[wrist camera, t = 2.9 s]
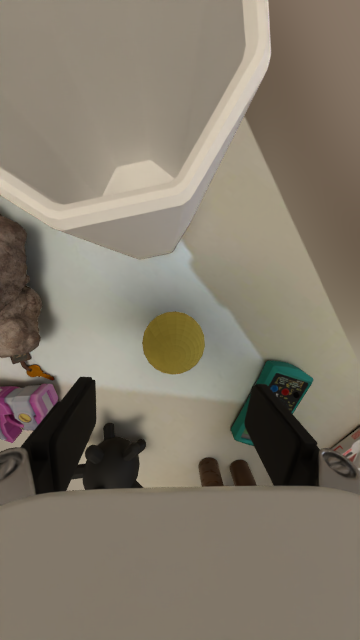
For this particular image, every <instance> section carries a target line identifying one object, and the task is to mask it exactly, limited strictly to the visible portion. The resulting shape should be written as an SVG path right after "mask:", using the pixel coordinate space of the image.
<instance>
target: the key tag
mask: <svg viewBox="0 0 360 640" xmlns="http://www.w3.org/2000/svg"><path fill="white" fill-rule="evenodd" d="M10 358H11V360H12V363H13V364H16V363H19V362H20V363H21V365H22V367H23V368H24V369H26V370H27V374H28V375H29V376H30V377H36V376H38V377H40V376H42V377H44V378H47V379H49V380H54V377H53V376H50V375H47V374H46V373H43V371H41V368H40V367H39V366H38V365H31V366H27V365H26V363H25V362H24V361H27V360H30V359H31V358H30V355H29V353H25V354H23V355H12V356H10ZM31 370H32V371H31Z"/></svg>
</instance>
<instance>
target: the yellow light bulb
mask: <svg viewBox="0 0 360 640" xmlns="http://www.w3.org/2000/svg"><path fill="white" fill-rule="evenodd" d="M142 344H143V351H144V354H145V356H146V358H147V360H148V362H149V363H150V364H151V365H152V366H153V367H154V368H155V369H157V370H159V371H161V372H163V373H167V374H180V373H183V372H186V371H188V370H190V369H191V368H193V367H194V366H195V365H196V364H197V363H198V361H199V360H200V358H201V357H202V355H203V351H204V348H205V341H204V334H203V332H202V329H201V327H200V325H199V324H198V323H197V322H196V321H195V320H194V319H193V318H192V317H190V316H188V315H187V314H185V313H180V312H176V311H175V312H166V313H163V314H161V315H159V316H157V317H156V318H154V319H153V320H152V321H151V322H150V323H149V325H148V326H147V328H146V330H145V332H144V336H143V342H142Z"/></svg>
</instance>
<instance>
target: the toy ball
mask: <svg viewBox="0 0 360 640" xmlns="http://www.w3.org/2000/svg"><path fill="white" fill-rule="evenodd" d="M103 430H104V441H103V442H101V443H99V444H98V445H91V446H89V447H88V448H87V450H86V452H85V457H86V459H87V461H86V464H79V465H77V467H76V470H75V472H74V474H73V476H72V479H78V478H83V485H84V488H85V490H94V489H123V488H143V487H142V486H141V485H140V484H139V483H138V482H137V481H136V479H137V476H138V470H139V457H138V454H139V453H140V452H141V451H143V450H144V449H145V447H146V442H145V440H144V439H139V440H138V441H137V442H134V443H131V442H130V441H129V440H127V439H125V438H122V437H115V430H114V424H113V423H107V424H105V425H104V428H103Z"/></svg>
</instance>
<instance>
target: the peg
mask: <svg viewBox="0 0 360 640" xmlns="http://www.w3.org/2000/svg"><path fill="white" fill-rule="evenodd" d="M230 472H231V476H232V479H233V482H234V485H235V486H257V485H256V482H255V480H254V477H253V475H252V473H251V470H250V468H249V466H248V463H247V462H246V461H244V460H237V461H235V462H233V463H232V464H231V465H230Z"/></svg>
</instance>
